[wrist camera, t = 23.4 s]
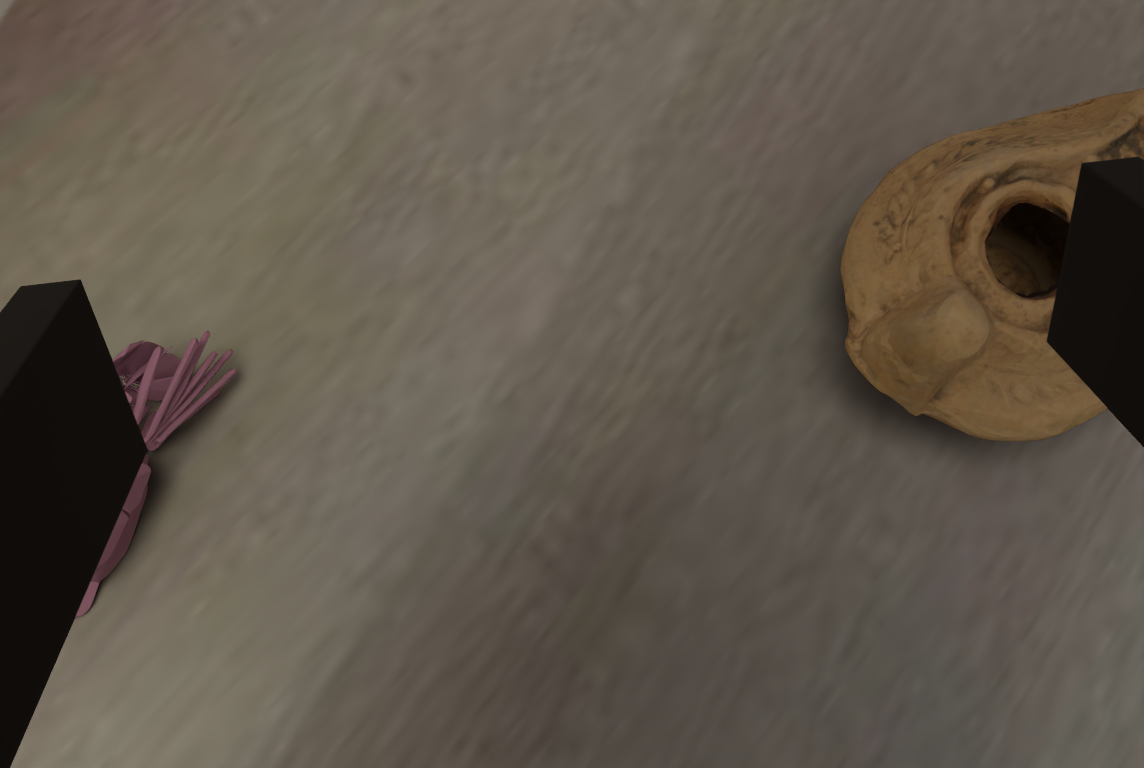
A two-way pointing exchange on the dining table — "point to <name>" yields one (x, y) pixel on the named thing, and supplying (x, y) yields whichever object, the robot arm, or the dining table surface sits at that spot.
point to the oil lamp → (979, 270)
